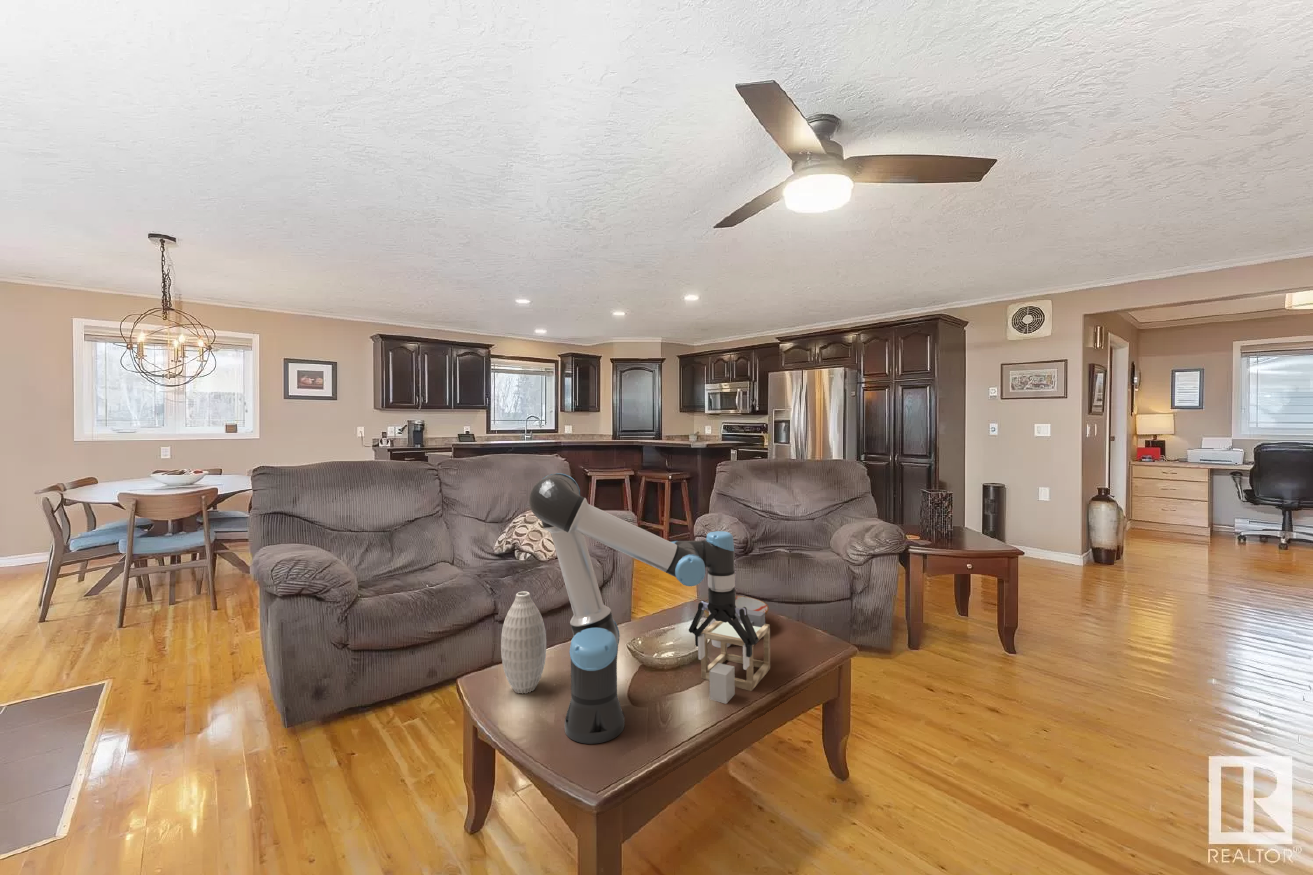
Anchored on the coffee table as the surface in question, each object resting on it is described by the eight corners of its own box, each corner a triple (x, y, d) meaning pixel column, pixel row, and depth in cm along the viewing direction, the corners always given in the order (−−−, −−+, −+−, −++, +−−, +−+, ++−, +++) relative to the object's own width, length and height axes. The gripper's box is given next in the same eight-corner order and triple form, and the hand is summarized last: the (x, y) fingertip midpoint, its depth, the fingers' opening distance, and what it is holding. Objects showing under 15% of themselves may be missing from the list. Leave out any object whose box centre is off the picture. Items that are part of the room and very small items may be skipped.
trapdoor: (747, 650, 160) (747, 633, 160) (709, 642, 166) (709, 626, 166) (769, 628, 177) (769, 613, 177) (734, 621, 183) (734, 607, 183)
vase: (493, 689, 161) (491, 593, 160) (530, 674, 170) (528, 583, 169) (518, 704, 152) (516, 603, 151) (555, 687, 161) (554, 592, 160)
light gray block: (726, 703, 151) (726, 675, 151) (709, 699, 154) (709, 671, 153) (734, 694, 156) (734, 666, 156) (718, 690, 159) (718, 662, 159)
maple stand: (751, 691, 158) (751, 642, 157) (701, 678, 166) (700, 632, 166) (770, 668, 172) (769, 624, 171) (722, 658, 180) (722, 615, 179)
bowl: (698, 638, 196) (698, 616, 196) (704, 613, 221) (703, 593, 221) (770, 642, 192) (770, 619, 192) (767, 616, 217) (767, 596, 217)
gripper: (769, 589, 151) (770, 666, 152) (688, 578, 164) (690, 649, 164) (759, 597, 144) (761, 677, 145) (675, 585, 157) (678, 658, 158)
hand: (723, 662), depth 155 cm, fingers open, 13 cm apart
